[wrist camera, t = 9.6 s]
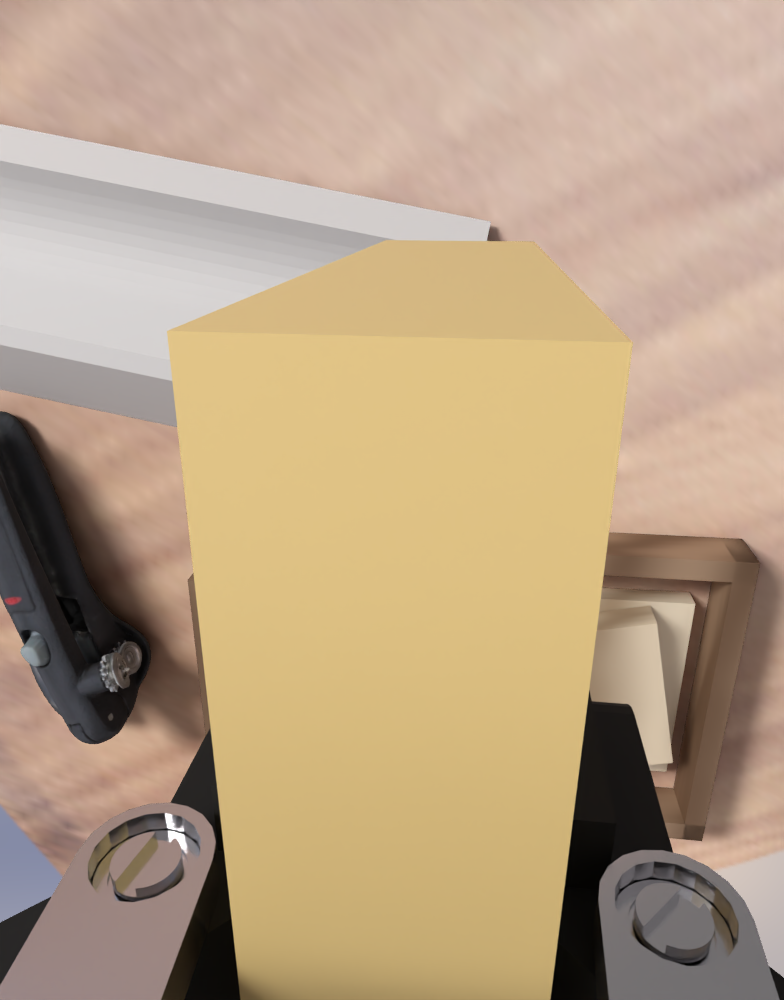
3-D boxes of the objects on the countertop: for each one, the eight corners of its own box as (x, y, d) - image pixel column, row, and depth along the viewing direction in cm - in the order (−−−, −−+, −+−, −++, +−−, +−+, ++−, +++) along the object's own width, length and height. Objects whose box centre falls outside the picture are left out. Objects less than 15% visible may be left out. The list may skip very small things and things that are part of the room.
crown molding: (490, 224, 31) (490, 228, 28) (433, 482, 36) (428, 511, 33) (-209, 85, 33) (-288, 73, 29) (-176, 353, 37) (-241, 368, 34)
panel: (533, 241, 12) (633, 341, 4) (493, 812, 16) (495, 1433, 8) (385, 239, 12) (167, 331, 4) (385, 802, 17) (284, 1393, 8)
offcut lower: (685, 585, 37) (695, 604, 35) (658, 748, 40) (666, 771, 39) (521, 576, 37) (522, 594, 36) (510, 736, 41) (510, 759, 40)
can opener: (184, 690, 42) (141, 759, 37) (75, 705, 43) (19, 773, 38) (65, 389, 36) (-6, 421, 31) (-56, 417, 37) (-144, 451, 32)
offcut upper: (650, 605, 35) (657, 623, 34) (665, 740, 38) (672, 762, 36) (523, 621, 36) (524, 639, 35) (547, 751, 39) (549, 773, 38)
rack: (742, 539, 35) (800, 616, 28) (689, 804, 41) (727, 918, 34) (239, 514, 37) (187, 580, 31) (260, 766, 43) (220, 866, 37)
